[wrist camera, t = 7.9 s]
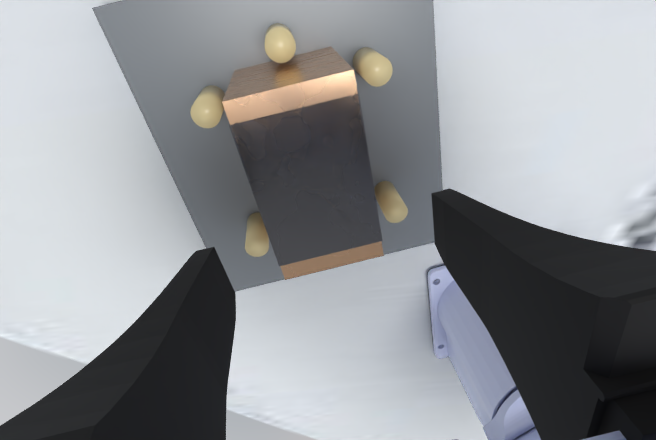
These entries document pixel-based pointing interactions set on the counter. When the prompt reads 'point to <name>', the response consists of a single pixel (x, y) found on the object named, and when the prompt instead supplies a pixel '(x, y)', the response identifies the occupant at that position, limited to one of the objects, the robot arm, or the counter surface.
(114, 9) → the grey peg board
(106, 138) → the counter surface
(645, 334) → the robot arm
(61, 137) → the counter surface
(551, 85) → the counter surface
